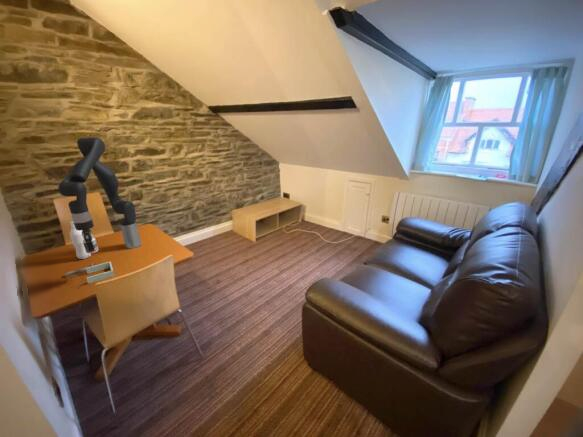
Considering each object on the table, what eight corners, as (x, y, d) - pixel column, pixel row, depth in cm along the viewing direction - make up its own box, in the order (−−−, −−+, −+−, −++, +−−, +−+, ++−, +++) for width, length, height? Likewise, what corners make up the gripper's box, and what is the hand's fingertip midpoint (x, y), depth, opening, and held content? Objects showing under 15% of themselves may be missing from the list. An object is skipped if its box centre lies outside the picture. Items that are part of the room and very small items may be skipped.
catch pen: (112, 266, 146) (110, 261, 145) (114, 275, 137) (113, 270, 136) (87, 273, 139) (85, 268, 138) (88, 283, 130) (86, 278, 129)
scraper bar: (94, 267, 146) (93, 262, 145) (94, 271, 141) (93, 267, 140) (66, 274, 138) (64, 270, 137) (65, 279, 134) (64, 274, 133)
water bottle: (83, 260, 151) (71, 224, 142) (74, 259, 153) (62, 223, 144) (94, 255, 158) (83, 220, 149) (85, 254, 159) (74, 218, 150)
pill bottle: (85, 251, 132) (80, 235, 129) (97, 248, 136) (92, 232, 133) (87, 254, 129) (82, 238, 126) (99, 251, 133) (95, 235, 129)
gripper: (92, 222, 123) (101, 251, 129) (91, 214, 133) (99, 241, 139) (73, 225, 119) (83, 255, 125) (73, 217, 129) (82, 245, 135)
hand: (91, 248), depth 132 cm, fingers closed on pill bottle, 5 cm apart
